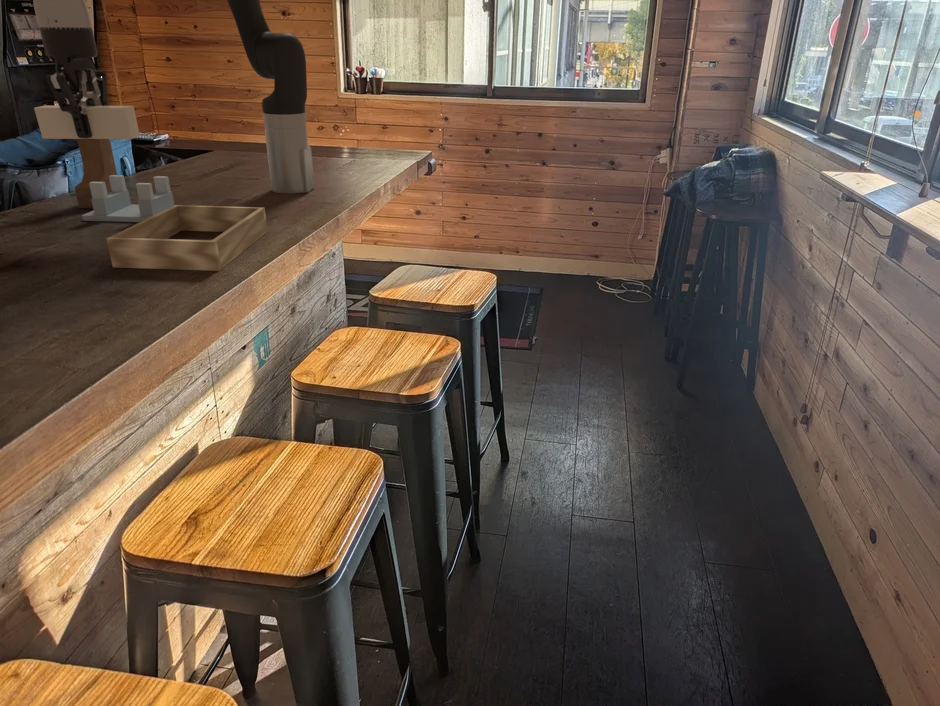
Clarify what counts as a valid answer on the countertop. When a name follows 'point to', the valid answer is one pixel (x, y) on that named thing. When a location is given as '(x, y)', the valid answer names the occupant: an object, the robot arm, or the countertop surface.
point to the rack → (128, 200)
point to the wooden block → (94, 168)
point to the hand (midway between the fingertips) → (92, 135)
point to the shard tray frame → (156, 251)
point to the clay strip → (101, 120)
